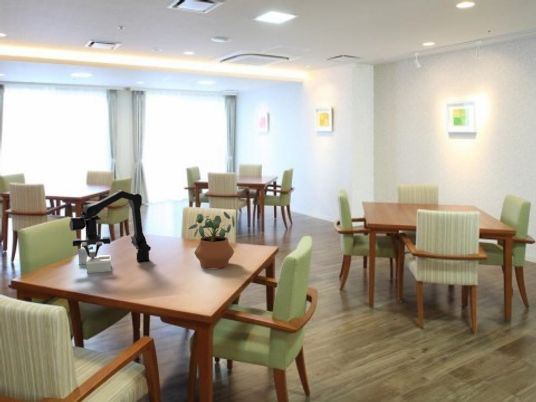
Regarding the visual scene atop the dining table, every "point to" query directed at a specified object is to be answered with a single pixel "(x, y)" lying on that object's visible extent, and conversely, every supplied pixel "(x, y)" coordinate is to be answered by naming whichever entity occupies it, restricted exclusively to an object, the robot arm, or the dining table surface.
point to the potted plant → (213, 243)
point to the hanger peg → (92, 253)
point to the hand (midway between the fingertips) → (92, 257)
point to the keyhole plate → (98, 264)
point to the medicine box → (83, 255)
